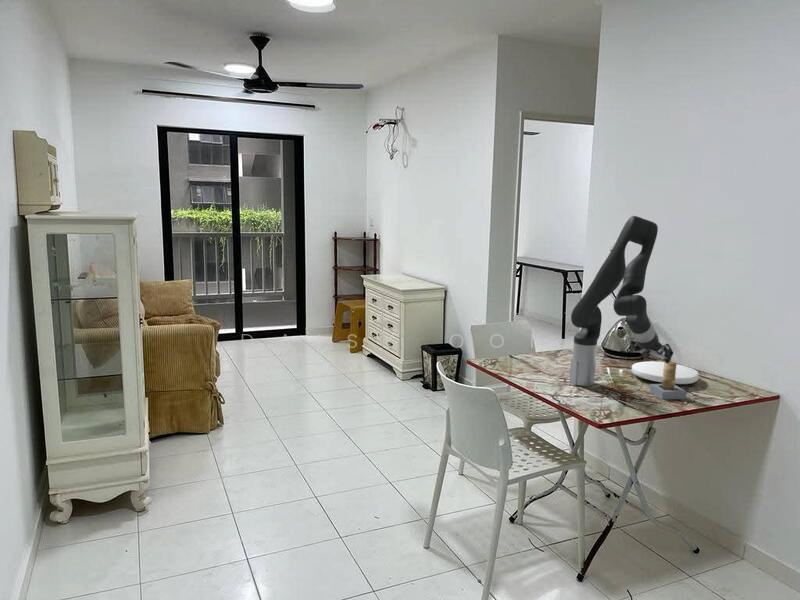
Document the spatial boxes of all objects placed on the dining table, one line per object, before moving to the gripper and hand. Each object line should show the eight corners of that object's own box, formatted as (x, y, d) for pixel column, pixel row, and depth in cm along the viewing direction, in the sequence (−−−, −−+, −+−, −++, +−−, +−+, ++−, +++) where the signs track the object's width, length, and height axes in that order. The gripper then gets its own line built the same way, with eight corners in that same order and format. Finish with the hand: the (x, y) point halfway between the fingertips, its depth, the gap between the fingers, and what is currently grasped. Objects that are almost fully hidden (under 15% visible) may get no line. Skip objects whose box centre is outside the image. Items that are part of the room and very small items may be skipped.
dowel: (665, 397, 226) (667, 364, 224) (659, 393, 230) (661, 361, 228) (675, 396, 227) (678, 364, 224) (669, 393, 231) (672, 361, 229)
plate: (626, 357, 266) (689, 361, 260) (625, 371, 266) (688, 376, 261) (639, 368, 238) (709, 373, 233) (638, 383, 239) (708, 389, 233)
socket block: (662, 399, 223) (662, 391, 223) (649, 391, 233) (650, 384, 232) (685, 398, 224) (686, 391, 224) (672, 390, 234) (672, 383, 233)
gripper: (667, 328, 205) (679, 355, 214) (629, 322, 216) (642, 347, 225) (659, 345, 202) (671, 371, 212) (621, 338, 213) (634, 363, 222)
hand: (656, 359), depth 218 cm, fingers open, 8 cm apart
